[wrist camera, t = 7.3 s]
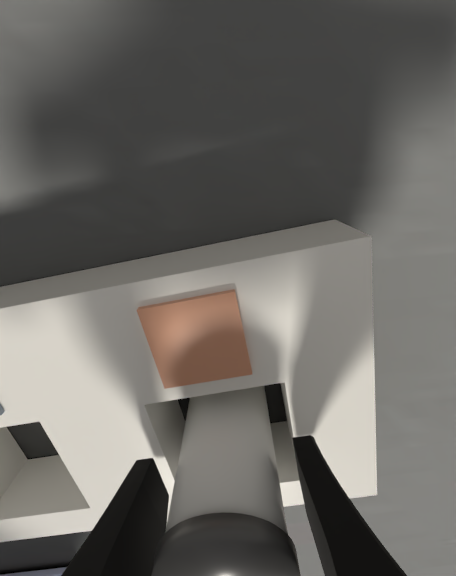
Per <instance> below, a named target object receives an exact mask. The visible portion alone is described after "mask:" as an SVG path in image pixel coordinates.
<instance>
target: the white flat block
mask: <svg viewBox="0 0 456 576" xmlns="http://www.w3.org/2000/svg"><path fill="white" fill-rule="evenodd" d="M277 383H281V389H282V395H283V401H284V406H285V412H286V418H287V421H283V422H277V423H270V425H271V432H272V438H273V444H274V451H275V457H276V463H277V469H278V476H279V482H280V488H281V495H282V501H283V507H285V506H293V505H301V504H304V499H303V494H302V490H301V485H300V481H299V475H298V469H297V463H296V457H295V451H294V445H293V439H292V438H294V437H300V436H307V435H311V436H313V437H314V439H315V441H316V443H317V445H318V447H319V449H320V451H321V453H322V455H323V457H324V459H325V460H326V462H327V464H328V466H329V467H330V469H331V471H332V472H333V474H334V476H335V477H336V479H337V480H338V482H339V484H340V485H341V487H342V488H343V490H344V491H345V493H346V494H347V496H348V497H349V498H357V497H365V496H373V495H377V469H376V421H375V373H374V325H373V278H372V236H370V235H368V234H366V233H364V232H362V231H359V230H357V229H355V228H353V227H351V226H348V225H346V224H344V223H342V222H340V221H337V220H335V219H334V220H329V221H325V222H320V223H315V224H310V225H305V226H300V227H295V228H290V229H285V230H280V231H275V232H270V233H265V234H260V235H255V236H250V237H245V238H240V239H235V240H230V241H225V242H220V243H215V244H210V245H205V246H201V247H196V248H191V249H186V250H181V251H176V252H171V253H166V254H161V255H156V256H151V257H146V258H141V259H136V260H131V261H126V262H121V263H116V264H111V265H106V266H101V267H96V268H91V269H86V270H81V271H77V272H72V273H67V274H62V275H57V276H52V277H47V278H42V279H37V280H32V281H27V282H22V283H17V284H12V285H7V286H2V287H0V542H6V541H14V540H22V539H30V538H38V537H46V536H54V535H62V534H70V533H78V532H86V531H92V530H93V528H94V527H95V525H96V524H97V522H98V521H99V519H100V518H101V516H102V514H103V513H104V511H105V510H106V508H107V507H108V505H109V503H110V502H111V500H112V499H113V497H114V495H115V494H116V492H117V491H118V489H119V487H120V486H121V484H122V482H123V481H124V479H125V478H126V476H127V474H128V473H129V471H130V469H131V468H132V466H133V465H134V463H135V462H136V460H141V459H148V458H153V459H154V461H155V463H156V466H157V468H158V471H159V473H160V475H161V478H162V480H163V482H164V485H165V487H166V489H167V492H168V494H169V502H168V514H167V521H168V515H169V510H170V504H171V499H172V493H173V488H174V482H175V477H176V471H177V466H178V460H179V455H180V449H181V444H182V438H183V433H184V427H185V420H184V417H183V414H182V411H181V408H180V405H179V402H178V399H183V398H190V397H196V396H202V395H208V394H215V393H221V392H227V391H234V390H240V389H246V388H252V387H259V386H265V385H271V384H277ZM33 422H40V423H41V425H42V427H43V428H44V430H45V432H46V434H47V435H48V437H49V439H50V440H51V442H52V444H53V445H54V447H55V449H56V450H57V452H58V454H59V455H55V456H48V457H42V458H35V459H27V458H26V456H25V455H24V453H23V451H22V450H21V448H20V447H19V445H18V444H17V442H16V441H15V439H14V438H13V436H12V435H11V433H10V432H9V430H8V428H7V427H8V426H14V425H20V424H27V423H33Z"/></svg>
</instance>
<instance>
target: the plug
mask: <svg viewBox="0 0 456 576" xmlns="http://www.w3.org/2000/svg"><path fill="white" fill-rule="evenodd" d="M151 576H300V570H299V565H298V559H297V553H296V549H295V545H294V543H293V541H292V539H291V538H290V537H289V536H288V533H287V526H286V520H285V514H284V507H283V501H282V495H281V488H280V482H279V476H278V469H277V463H276V457H275V451H274V444H273V438H272V432H271V425H270V419H269V413H268V406H267V400H266V394H265V388H264V386H259V387H252V388H246V389H240V390H234V391H227V392H221V393H215V394H208V395H202V396H196V397H190V400H189V405H188V411H187V416H186V422H185V427H184V433H183V438H182V444H181V449H180V455H179V460H178V466H177V471H176V477H175V482H174V488H173V493H172V499H171V504H170V510H169V515H168V521H167V526H166V532H165V534H164V535H163V536H162V538H161V539H160V541H159V543H158V546H157V550H156V555H155V560H154V565H153V570H152V575H151Z"/></svg>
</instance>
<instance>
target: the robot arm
mask: <svg viewBox="0 0 456 576" xmlns="http://www.w3.org/2000/svg"><path fill="white" fill-rule="evenodd" d="M292 439H293V445H294V451H295V457H296V463H297V469H298V475H299V481H300V485H301V490H302V494H303V499H304V504H305V508H306V513H307V517H308V520H309V523H310V527H311V530H312V533H313V537H314V540H315V543H316V547H317V550H318V554H319V557H320V560H321V564H322V567H323V570H324V574H325V576H407V575H406V574H405V573H404V571H403V570H402V569H401V568H400V566H399V565H398V564H397V563H396V561H395V560H394V559H393V558H392V556H391V555H390V554H389V552H388V551H387V550H386V549H385V547H384V546H383V545H382V543H381V542H380V541H379V539H378V538H377V537H376V535H375V534H374V533H373V531H372V530H371V529H370V527H369V526H368V524H367V523H366V522H365V520H364V519H363V518H362V516H361V515H360V513H359V512H358V510H357V509H356V508H355V506H354V505H353V503H352V502H351V500H350V499H349V497H348V496H347V494H346V493H345V491H344V490H343V488H342V487H341V485H340V484H339V482H338V480H337V479H336V477H335V476H334V474H333V472H332V471H331V469H330V467H329V466H328V464H327V462H326V460H325V459H324V457H323V455H322V453H321V451H320V449H319V447H318V445H317V443H316V441H315V439H314V437H313V436H311V435H307V436H300V437H294V438H292ZM168 502H169V494H168V492H167V489H166V487H165V485H164V482H163V480H162V478H161V475H160V473H159V471H158V468H157V466H156V463H155V461H154V459H153V458H148V459H141V460H136V462H135V463H134V465H133V466H132V468H131V469H130V471H129V473H128V474H127V476H126V478H125V479H124V481H123V482H122V484H121V486H120V487H119V489H118V491H117V492H116V494H115V495H114V497H113V499H112V500H111V502H110V503H109V505H108V507H107V508H106V510H105V511H104V513H103V514H102V516H101V518H100V519H99V521H98V522H97V524H96V525H95V527H94V528H93V530H92V531H91V533H90V534H89V536H88V537H87V539H86V540H85V542H84V543H83V545H82V546H81V548H80V549H79V551H78V552H77V553H76V555H75V556H74V558H73V559H72V561H71V562H70V564H69V565H68V566H67V567H62V568H54V569H45V570H37V571H28V572H19V573H11V574H2V575H0V576H151V575H152V570H153V565H154V560H155V555H156V550H157V546H158V543H159V541H160V539H161V538H162V536H163V535H164V534H165V532H166V523H167V514H168Z"/></svg>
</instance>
